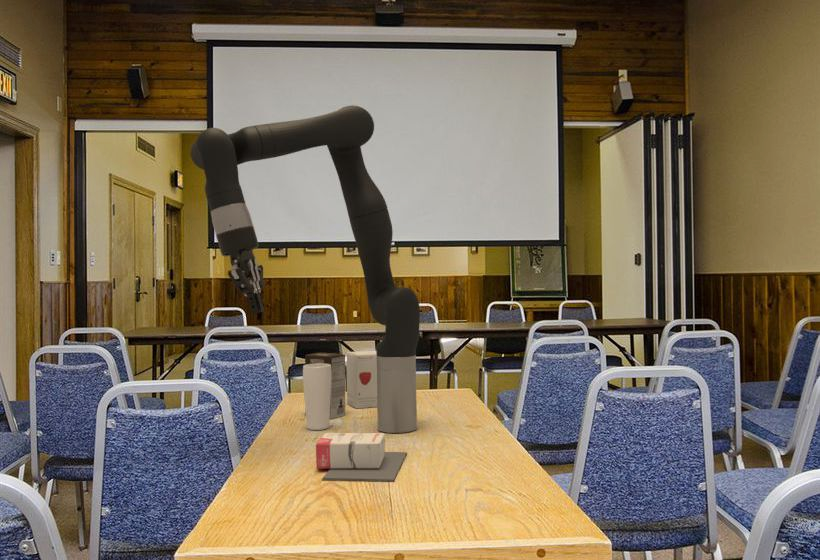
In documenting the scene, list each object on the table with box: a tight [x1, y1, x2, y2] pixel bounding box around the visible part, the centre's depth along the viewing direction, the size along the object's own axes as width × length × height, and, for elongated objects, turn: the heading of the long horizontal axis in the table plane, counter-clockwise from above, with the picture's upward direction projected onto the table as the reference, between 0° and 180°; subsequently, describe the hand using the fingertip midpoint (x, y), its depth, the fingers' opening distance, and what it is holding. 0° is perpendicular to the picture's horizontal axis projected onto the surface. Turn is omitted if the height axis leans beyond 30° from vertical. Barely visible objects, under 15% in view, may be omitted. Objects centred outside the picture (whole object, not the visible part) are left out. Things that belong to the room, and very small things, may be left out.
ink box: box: [315, 432, 386, 470], centre depth 120 cm, size 9×5×12 cm
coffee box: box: [304, 352, 346, 420], centre depth 167 cm, size 9×6×16 cm
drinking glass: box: [302, 364, 332, 431], centre depth 152 cm, size 7×7×15 cm
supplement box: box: [346, 350, 377, 409], centre depth 181 cm, size 9×9×15 cm
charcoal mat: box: [321, 451, 408, 483], centre depth 119 cm, size 18×12×1 cm
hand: (258, 312), depth 129 cm, fingers closed
